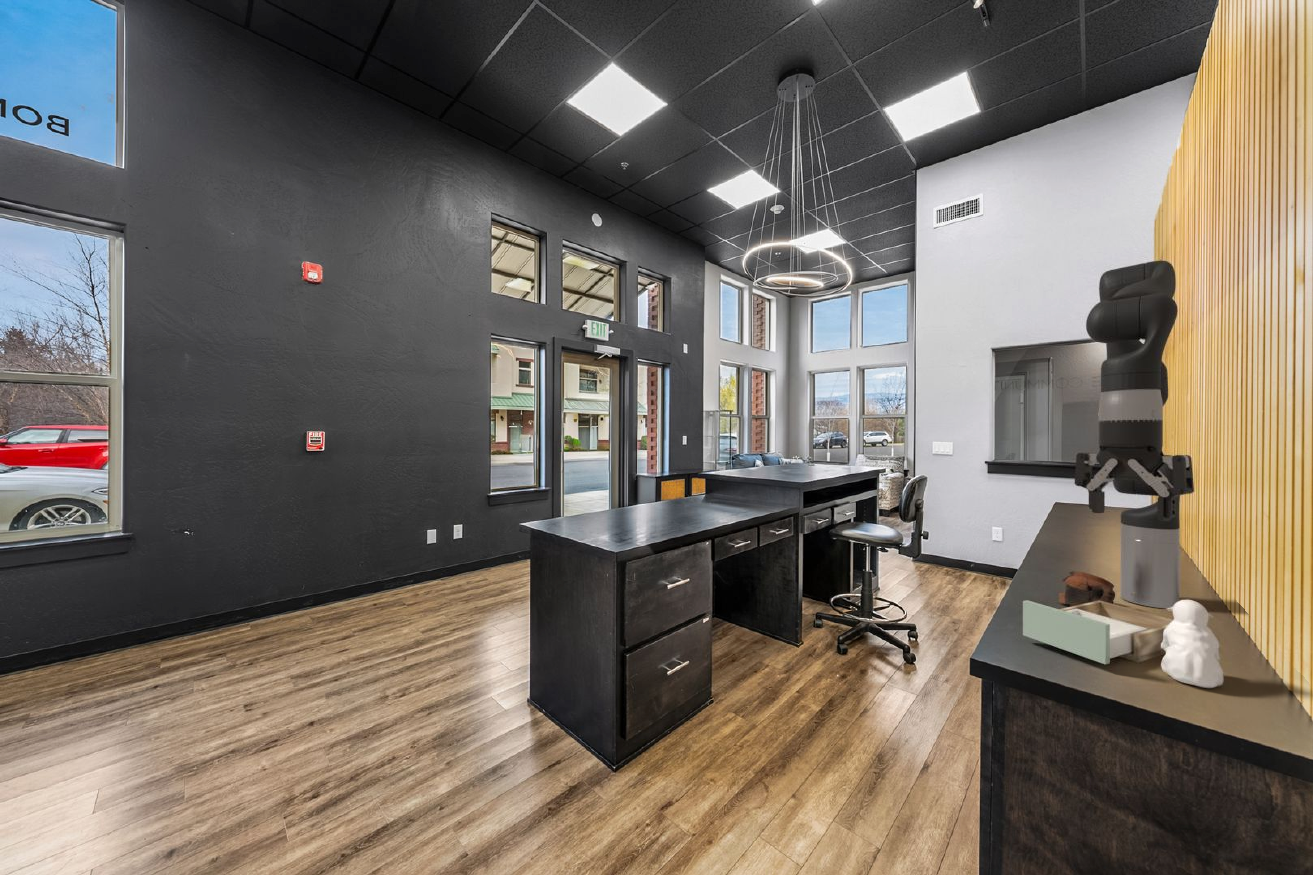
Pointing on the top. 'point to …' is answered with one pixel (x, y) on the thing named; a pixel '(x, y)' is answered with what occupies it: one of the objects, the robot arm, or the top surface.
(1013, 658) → the top surface
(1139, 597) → the robot arm
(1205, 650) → the white rounded figure
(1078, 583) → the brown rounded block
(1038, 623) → the drawer
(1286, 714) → the top surface
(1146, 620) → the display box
